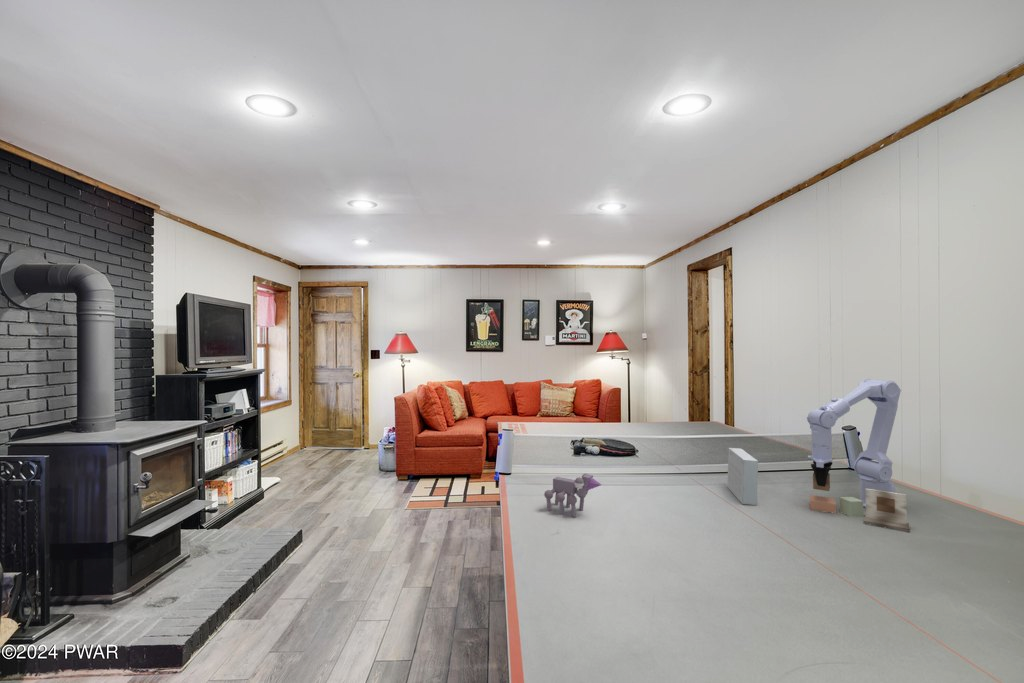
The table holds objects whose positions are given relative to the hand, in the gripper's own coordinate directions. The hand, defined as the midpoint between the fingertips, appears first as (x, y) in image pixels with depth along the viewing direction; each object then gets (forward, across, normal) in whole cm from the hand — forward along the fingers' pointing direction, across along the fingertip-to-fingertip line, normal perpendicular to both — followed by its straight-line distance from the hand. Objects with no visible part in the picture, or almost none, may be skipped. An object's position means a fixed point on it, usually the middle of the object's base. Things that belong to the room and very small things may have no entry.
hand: (822, 484), depth 159 cm
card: (+8, +6, +17) cm, 20 cm away
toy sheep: (+8, +55, -66) cm, 86 cm away
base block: (+9, 0, 0) cm, 9 cm away
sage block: (+8, 0, +8) cm, 12 cm away
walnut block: (+2, 0, 0) cm, 2 cm away
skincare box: (+9, +2, -25) cm, 26 cm away
